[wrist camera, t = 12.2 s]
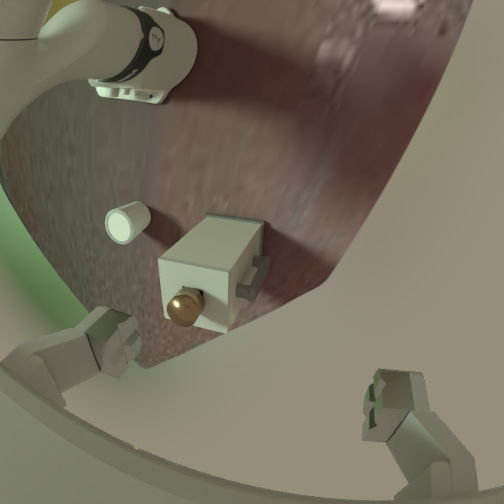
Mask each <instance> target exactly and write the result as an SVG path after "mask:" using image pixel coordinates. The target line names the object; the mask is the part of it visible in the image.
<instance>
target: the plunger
mask: <svg viewBox="0 0 504 504" xmlns="http://www.w3.org/2000/svg"><path fill="white" fill-rule="evenodd" d="M202 293H203V290H199V289H193V288H190V287H184V288H182V289H180V290H179V291H178V292H177V294H176V295H175V296H174V297H173V298H172V299H171V301H170V302H169V303H168V305H167V313H168V315H169V317H170V318H171V320H172V321H173V322H175V323H176V324H178V325H180V326H183V327H189V326H192V325H193V324H194V323H195V322H196V320H197V319H198V317H199V316H200V314H201V313H202V311H203V310H204V308H205V300H204V298H203V296H202V295H201V294H202Z"/></svg>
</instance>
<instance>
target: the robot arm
mask: <svg viewBox="0 0 504 504" xmlns="http://www.w3.org/2000/svg"><path fill="white" fill-rule="evenodd" d="M53 1H54V0H0V139H1V138H2V137H3V136H4V135H5V133H6V131H7V130H8V128H9V127H10V125H11V124H12V122H13V121H14V120H15V118H16V117H17V116H18V115H19V114H20V113H21V111H22V110H23V109H24V108H25V107H26V106H27V105H28V104H30V103H31V102H32V101H33V100H34V99H36V98H37V97H38V96H40V95H41V94H42V93H44V92H45V91H47V90H49V89H50V88H52V87H54V86H56V85H58V84H61V83H63V82H67V81H73V80H84V79H88V81H89V83H90V85H91V86H92V87H96V90H97V92H98V94H99V96H101V97H108V98H117V99H125V100H133V101H140V102H147V103H154V104H160V103H162V102H163V101H164V99H165V98H166V96H167V95H168V93H169V91H170V90H171V89H172V88H173V87H175V86H176V85H177V84H179V83H180V82H181V81H182V80H183V79H184V78H185V77H186V76H187V74H188V73H189V72H190V70H191V68H192V66H193V64H194V62H195V59H196V55H197V39H196V36H195V33H194V31H193V30H192V28H191V27H190V26H189V25H188V24H187V23H185V22H184V21H182V20H180V19H178V18H176V17H175V16H174V14H173V13H172V12H171V10H170V9H168V8H165V7H162V8H159V9H157V10H155V9H152V8H148V7H144V6H141V7H139V8H138V9H137V8H134V7H128V6H117V5H114V4H111V3H108V2H105V1H101V0H79V1H77V2H74V3H72V4H70V5H68V6H66V7H64V8H63V9H61V10H60V11H59V12H58V13H56V14H55V15H54V16H53V17H52V18H51V19H50V20H49V21H48V22H47V23H46V24H45V25H44V26H43V27H42V25H43V23H44V21H45V19H46V16H47V14H48V12H49V10H50V7H51V5H52V3H53ZM151 95H153V97H152V98H151ZM137 327H138V323H137V319H136V318H135V317H134V316H131V315H128V314H125V313H123V312H120V311H117V310H114V309H111V308H108V307H105V306H103V305H101V306H98V307H97V308H96V309H94V310H93V311H92V312H91V313H90V314H89V315H88V316H87V317H86V318H85V319H84V320H83V321H82V322H80V323H79V324H78V325H77V326H76V327H75V328H74V329H72V328H68V329H65V330H62V331H59V332H56V333H53V334H49V335H46V336H43V337H40V338H37V339H34V340H31V341H27V342H24V343H21V344H20V345H18V346H17V347H16V348H15V349H14V350H13V351H12V352H11V353H10V354H9V355H8V356H7V357H6V358H4V359H3V360H2V361H1V362H0V504H504V486H500V487H495V488H491V489H487V490H482V491H478V483H477V474H476V467H475V460H474V457H473V456H472V454H471V453H470V452H469V451H468V450H467V449H466V447H465V446H464V445H463V444H462V443H461V442H460V441H459V439H458V438H457V437H456V436H455V435H454V434H453V432H452V431H451V430H450V429H449V428H448V427H447V426H446V425H445V423H444V422H443V421H442V420H441V419H440V418H439V416H438V415H437V414H436V413H435V412H432V411H430V407H429V401H428V396H427V390H426V385H425V380H424V376H423V374H422V373H421V372H411V371H399V370H388V369H378V370H377V371H376V372H375V375H374V377H373V378H374V383H373V384H371V385H370V386H369V387H368V389H367V392H366V395H365V398H364V404H363V413H364V415H365V416H366V419H365V421H364V422H363V431H362V440H363V441H373V442H385V443H386V444H387V446H388V448H389V450H390V451H391V453H392V455H393V456H394V458H395V460H396V461H397V464H398V465H399V467H400V469H401V471H402V472H403V474H404V476H405V478H406V480H407V481H408V483H409V484H408V485H407V486H405V487H404V488H403V489H402V490H401V491H399V492H398V493H397V494H396V495H395V496H394V500H392V501H391V500H389V501H369V500H346V499H333V498H321V497H314V496H306V495H298V494H292V493H286V492H280V491H274V490H270V489H264V488H260V487H255V486H251V485H247V484H242V483H238V482H234V481H231V480H227V479H223V478H219V477H216V476H213V475H210V474H206V473H203V472H200V471H197V470H194V469H191V468H188V467H185V466H182V465H179V464H177V463H174V462H172V461H169V460H166V459H164V458H161V457H159V456H156V455H154V454H151V453H149V452H146V451H144V450H142V449H140V448H137V447H135V446H133V445H131V444H129V443H127V442H124V441H122V440H120V439H118V438H116V437H114V436H112V435H110V434H108V433H106V432H104V431H102V430H101V429H98V428H97V427H95V426H93V425H91V424H89V423H87V422H86V421H84V420H82V419H81V418H79V417H77V416H75V415H74V414H72V413H70V412H69V411H67V410H66V409H64V407H65V406H66V401H65V400H64V398H63V396H62V395H61V393H62V392H64V391H66V390H68V389H70V388H72V387H74V386H76V385H78V384H80V383H81V382H83V381H85V380H87V379H89V378H91V377H93V376H95V375H97V374H99V373H100V372H102V373H105V374H107V375H110V376H112V377H114V378H117V379H119V378H120V377H121V376H122V375H123V373H124V372H125V371H126V369H127V368H128V362H129V361H131V360H133V359H135V358H136V356H137V355H138V354H139V351H140V348H141V336H140V334H139V333H138V332H137V330H136V328H137Z"/></svg>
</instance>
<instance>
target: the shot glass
mask: <svg viewBox="0 0 504 504" xmlns="http://www.w3.org/2000/svg"><path fill="white" fill-rule="evenodd" d="M150 220H151V215H150V211H149V209H148V208H147V206H146V205H145V204H143V203H141V202H133V203H130V204H127V205H124V206H121V207H119V208H116V209H113V210H111V211H109V212H108V214H107V215H106V219H105V226H106V230H107V232H108V234H109V236H110V237H111V238H112V240H113V241H115V242H117V243H118V244H127V243H129V242H130V241H131V240H132V239H134V238H135V237H136V236H137V235H138V234H139V233H140V232H141V231H142V230H144V229H145V228H146V227H147V226H148V225H149V223H150Z"/></svg>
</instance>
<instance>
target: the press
mask: <svg viewBox="0 0 504 504" xmlns="http://www.w3.org/2000/svg"><path fill="white" fill-rule="evenodd" d="M264 224H265V221H263V220H256V219H249V218H242V217H235V216H227V215H220V214H213V213H206V214H205V219H204V220H203V221H202V222H200V223H199V224H198V225H197V226H196V227H195V228H193V229H192V230H191V231H190V232H189V233H187V234H186V235H185V236H184V237H183V238H182V239H180V240H179V241H178V242H177V243H176V244H175V245H173V246H172V247H171V248H170V249H169V250H168V251H167V252H165V253H164V254H163V255H162V256H161V257H160V258H159V259H158V264H159V274H160V283H161V292H162V300H163V308H164V316H165V318H167V319H171V318H170V317H169V315H168V313H167V305H168V303H169V302H170V301H171V299H172V298H173V297H174V296H175V295H176V294H177V292H178V291H179V290H180V289H182V288H184V287H190V288H193V289H199V290H203V293H202V294H201V295H202V296H203V298H204V300H205V308H204V310H203V311H202V313H201V314H200V316H199V317H198V319H197V320H196V322H195V323H194V324H193V325H194V326H198V327H202V328H206V329H210V330H214V331H218V332H222V333H228V332H229V330H230V328H231V326H232V324H233V322H234V320H235V318H236V316H237V314H238V312H239V310H240V308H241V306H242V304H243V302H244V300H245V299H247V300H248V301H253V302H255V300H256V297H257V295H258V293H259V291H260V289H261V286H262V284H263V282H264V280H265V277H266V275H267V273H268V271H269V268H270V260H271V257H269V256H264V257H263V256H262V250H263V237H264Z"/></svg>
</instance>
